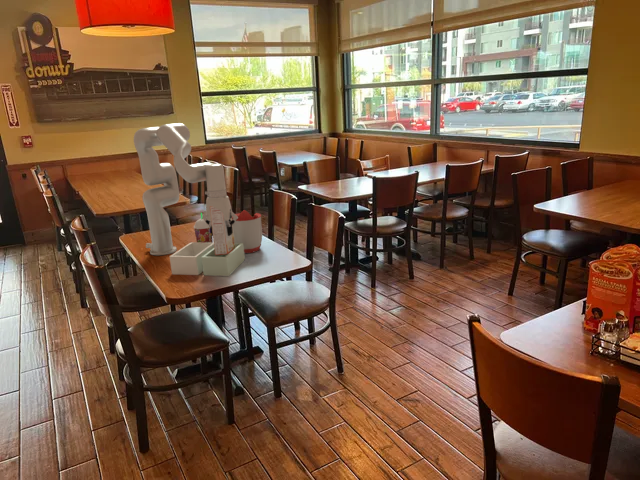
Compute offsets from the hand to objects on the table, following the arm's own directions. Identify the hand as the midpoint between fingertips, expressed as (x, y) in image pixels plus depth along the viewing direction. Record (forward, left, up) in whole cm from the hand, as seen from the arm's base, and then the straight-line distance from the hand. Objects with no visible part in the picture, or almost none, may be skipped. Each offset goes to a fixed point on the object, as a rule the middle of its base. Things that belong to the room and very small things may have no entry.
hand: (222, 234), depth 200 cm
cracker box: (0, 0, -9) cm, 9 cm away
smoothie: (-17, +18, -15) cm, 29 cm away
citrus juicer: (+2, +25, -15) cm, 29 cm away
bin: (0, 0, -15) cm, 15 cm away
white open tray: (-14, 0, -15) cm, 21 cm away
